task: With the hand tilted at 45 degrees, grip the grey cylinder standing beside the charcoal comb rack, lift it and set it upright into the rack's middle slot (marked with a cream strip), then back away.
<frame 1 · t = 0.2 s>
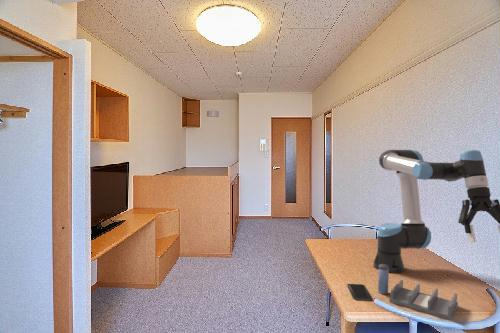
hand: (488, 241, 124), 28 cm above the table, tool tilted 20°, fingers open, 13 cm apart
phone: (359, 293, 141), on the table
grey cylinder: (383, 292, 141), on the table
comb rack: (423, 303, 131), on the table
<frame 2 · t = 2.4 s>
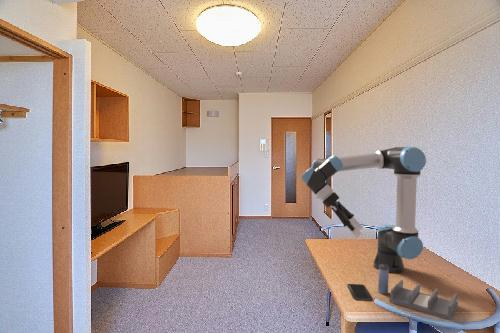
hand: (360, 232, 145), 25 cm above the table, tool tilted 45°, fingers open, 13 cm apart
nothing on the table moved.
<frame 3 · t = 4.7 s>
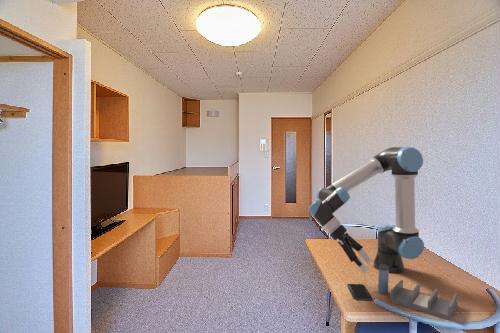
hand: (368, 266, 143), 11 cm above the table, tool tilted 45°, fingers open, 13 cm apart
nothing on the table moved.
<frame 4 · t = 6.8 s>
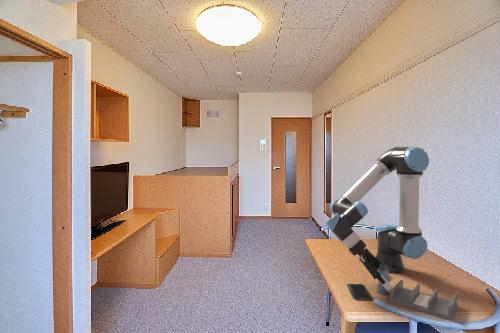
hand: (390, 284, 140), 4 cm above the table, tool tilted 45°, fingers open, 10 cm apart
nothing on the table moved.
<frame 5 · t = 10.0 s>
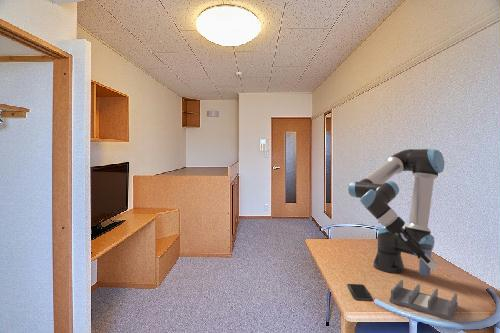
hand: (434, 266, 129), 16 cm above the table, tool tilted 45°, fingers closed on grey cylinder, 4 cm apart
grey cylinder: (424, 274, 131), point 12 cm above the table, touching gripper
everything else where it was.
when the fingers open (6 cm above the table, at t = 12.5 s): grey cylinder drops 1 cm, resting on comb rack.
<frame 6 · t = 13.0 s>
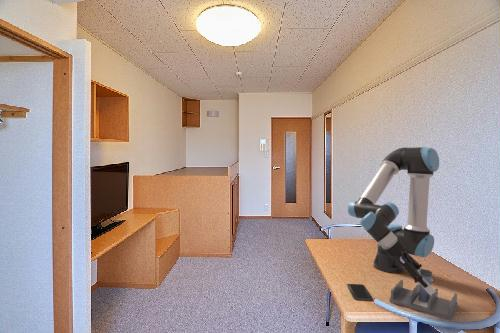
hand: (431, 287, 130), 7 cm above the table, tool tilted 45°, fingers open, 11 cm apart
grey cylinder: (424, 300, 131), point 2 cm above the table, touching comb rack
everything else where it was.
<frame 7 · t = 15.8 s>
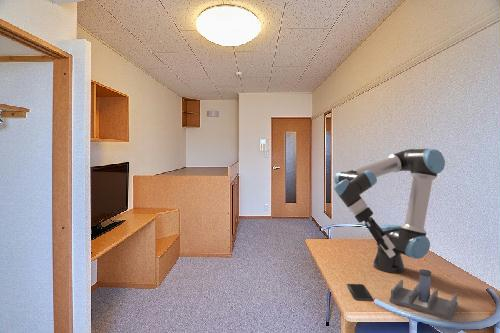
hand: (392, 252, 137), 19 cm above the table, tool tilted 40°, fingers open, 13 cm apart
nothing on the table moved.
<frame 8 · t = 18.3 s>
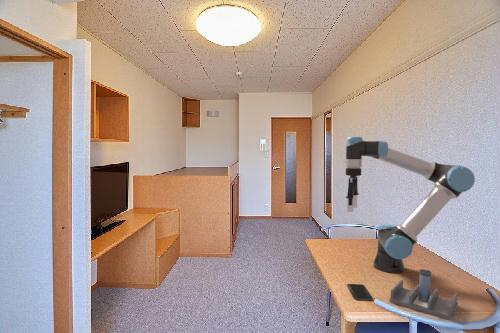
hand: (352, 209, 162), 33 cm above the table, tool pointing down, fingers open, 13 cm apart
nothing on the table moved.
at the end: grey cylinder inside the target area on the comb rack (0.2 cm from its centre), point 1.6 cm above the comb rack's base; grey cylinder tilted 0°; the gripper is holding nothing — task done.
